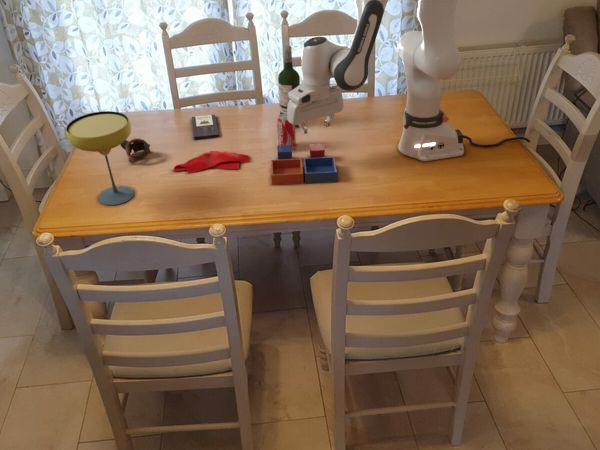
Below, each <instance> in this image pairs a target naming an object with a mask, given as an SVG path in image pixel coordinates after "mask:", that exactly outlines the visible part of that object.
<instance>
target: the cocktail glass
mask: <svg viewBox="0 0 600 450" xmlns="http://www.w3.org/2000/svg"><path fill="white" fill-rule="evenodd" d="M131 132H132V125H131V121H130V118H129V117H128V116H127V115H126V114H125V113H122V112H118V111H110V110H108V111H107V110H106V111H105V110H104V111H95V112H90V113H87V114H84V115H81V116H78V117H77V118H76V117H75V118H73V120H71V121H70V122H69V123H68V124H67V125H66V127H65V134H66V137H67V138H66V139H67V141H68V142H69V144H71V146H73V147H75V149H79V150H82V151H84V152H92V153H93V152H95V153H99V154H100V155H102V156H104V158H105V161H106V165H107V169H108V174H109V176H110V181H111V186H112V187H109V188H107V189H106V190H104V191H101V193H100V194H99V196H98V201H99V202H100V203H101V204H102V205H105V206H118V205H123V204H126V203H127V202H129V201H130V200H132V198H134V195H135V192H134V190H133V188H131V187H128V186H125V185H124V186H121V185H119V186H116V183H115V180H114V177H113V173H112V168H111V165H110V162H109V158H108V155H109V154H110V153H111V150H112V149H114V148H116V147H118V146H121V145H120V144H122V143H123V142H124V141H125V140H128V138H129V137H130V135H131Z"/></svg>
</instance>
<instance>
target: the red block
mask: <svg viewBox="0 0 600 450" xmlns="http://www.w3.org/2000/svg"><path fill="white" fill-rule="evenodd" d="M325 153H326V152H325V144H324V143H309V158H319V157H326V155H325Z"/></svg>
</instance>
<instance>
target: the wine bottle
mask: <svg viewBox="0 0 600 450" xmlns="http://www.w3.org/2000/svg"><path fill="white" fill-rule="evenodd" d="M292 52H293V51H292V45H291V44H285V45H284V46H283V69H282V70H281V71H280V72H279V74H278V76H277V80H278V82H277V84H278V85H277V86H278V100H279V115H280V114H284V113H287V106H288V102H289V101H290V100H291V99H290V98H289V97H288V93H289V92H290V91H292V90H293V89H295V88H296V87H298V86H299V85H300V84H301V77H300V76H301V75H300V74H299V72H298V71H297V70H296V69H295V68H294V67H293V55H292ZM297 127H299V125H295V128H297Z"/></svg>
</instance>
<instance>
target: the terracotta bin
mask: <svg viewBox="0 0 600 450" xmlns="http://www.w3.org/2000/svg"><path fill="white" fill-rule="evenodd" d="M302 159H303V158H302V157H301V158H300V157H299V158H292V159H279V160H278V159H271V160H270V178H271V186H274V185H275V186H277V185H295V184H304V182H305V181H304V166H303V160H302Z"/></svg>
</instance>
